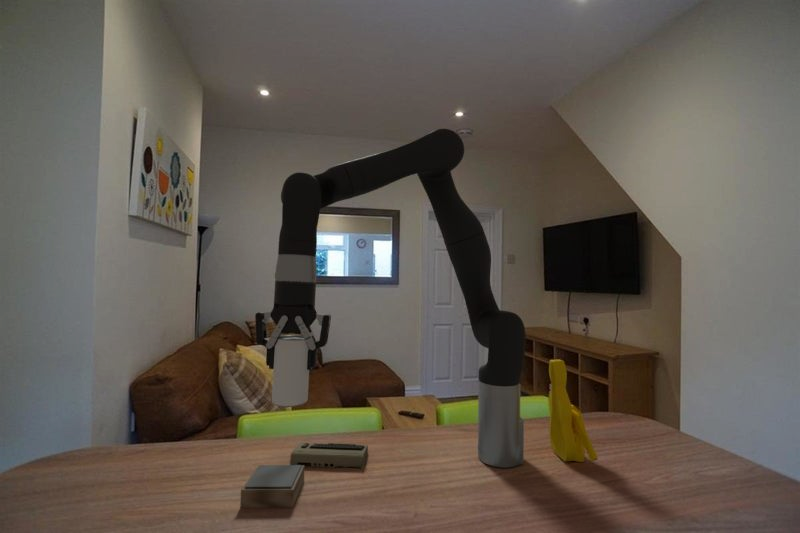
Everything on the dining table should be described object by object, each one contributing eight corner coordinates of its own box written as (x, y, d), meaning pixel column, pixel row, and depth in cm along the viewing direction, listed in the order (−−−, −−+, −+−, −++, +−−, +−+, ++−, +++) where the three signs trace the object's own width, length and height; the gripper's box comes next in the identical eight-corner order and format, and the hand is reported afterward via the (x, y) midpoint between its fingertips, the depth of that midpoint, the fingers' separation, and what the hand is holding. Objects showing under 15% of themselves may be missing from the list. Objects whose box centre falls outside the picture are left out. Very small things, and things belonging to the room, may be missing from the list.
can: (263, 404, 70) (267, 337, 70) (286, 395, 76) (290, 334, 76) (293, 409, 67) (296, 340, 68) (314, 400, 73) (317, 337, 74)
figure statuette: (606, 475, 79) (605, 368, 80) (570, 476, 79) (569, 368, 80) (563, 440, 97) (563, 353, 98) (533, 441, 96) (533, 353, 97)
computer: (368, 453, 89) (368, 439, 89) (363, 470, 81) (363, 454, 81) (301, 451, 90) (301, 437, 90) (289, 468, 82) (290, 452, 82)
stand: (304, 481, 75) (304, 463, 76) (293, 507, 66) (293, 488, 67) (257, 481, 75) (258, 463, 75) (240, 507, 66) (240, 488, 66)
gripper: (336, 281, 77) (332, 366, 76) (263, 278, 76) (258, 363, 75) (331, 281, 69) (326, 374, 68) (250, 277, 69) (244, 372, 68)
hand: (291, 368), depth 72 cm, fingers closed on can, 6 cm apart
